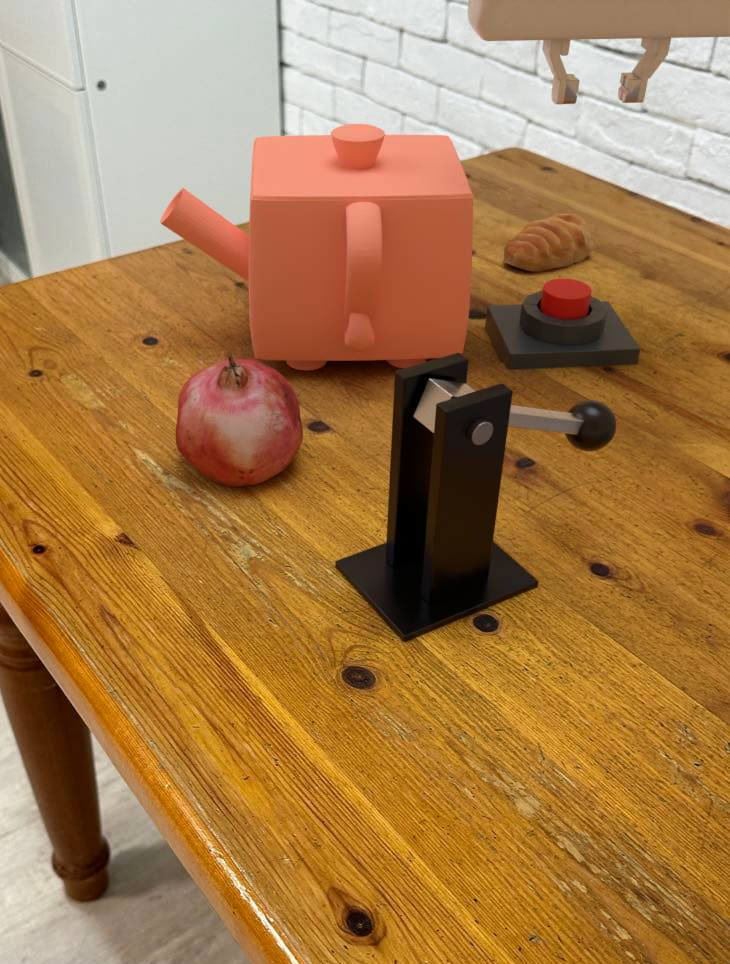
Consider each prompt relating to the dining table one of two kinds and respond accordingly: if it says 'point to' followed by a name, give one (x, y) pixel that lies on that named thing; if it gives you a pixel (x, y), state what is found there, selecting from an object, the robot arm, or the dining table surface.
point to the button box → (559, 337)
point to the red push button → (565, 299)
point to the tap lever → (532, 416)
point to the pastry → (549, 243)
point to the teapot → (348, 247)
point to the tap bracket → (441, 509)
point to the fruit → (238, 422)
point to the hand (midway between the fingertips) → (596, 101)
